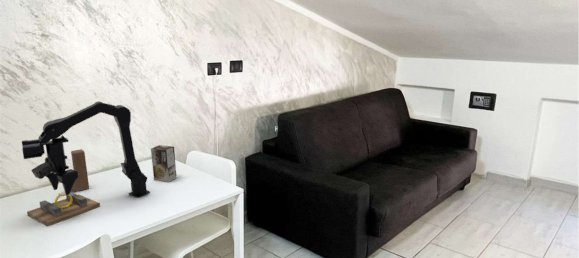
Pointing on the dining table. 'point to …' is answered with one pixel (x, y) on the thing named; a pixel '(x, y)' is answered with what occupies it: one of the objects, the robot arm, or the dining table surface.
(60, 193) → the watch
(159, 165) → the coffee box
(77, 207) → the cradle
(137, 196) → the robot arm
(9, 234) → the dining table surface
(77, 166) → the wooden block
